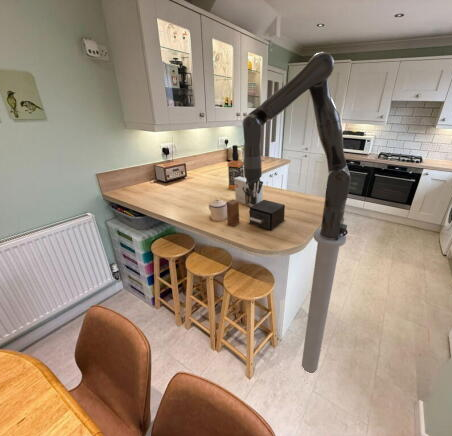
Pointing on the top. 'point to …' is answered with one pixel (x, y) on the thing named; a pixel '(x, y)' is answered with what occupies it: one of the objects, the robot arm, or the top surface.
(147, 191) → the top surface
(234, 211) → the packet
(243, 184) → the skincare box
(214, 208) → the teacup with lid
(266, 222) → the drawer
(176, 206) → the top surface
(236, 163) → the whiskey bottle
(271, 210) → the dark brown cabinet
